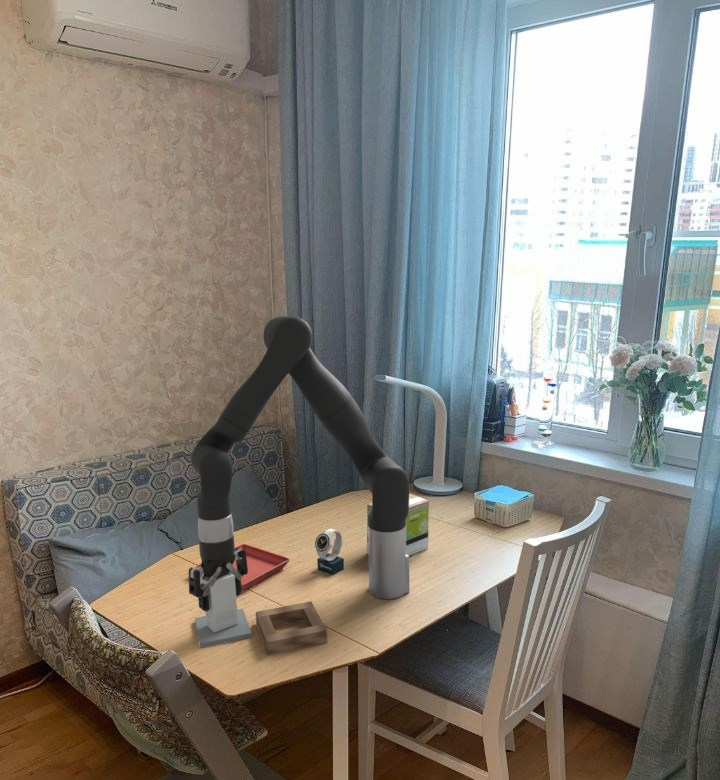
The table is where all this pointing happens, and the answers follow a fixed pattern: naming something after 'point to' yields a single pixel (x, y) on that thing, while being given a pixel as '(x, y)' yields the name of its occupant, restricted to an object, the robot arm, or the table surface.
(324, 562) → the watch
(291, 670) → the table surface
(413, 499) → the tea box
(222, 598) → the skincare box
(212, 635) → the slate mat
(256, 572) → the plant saucer
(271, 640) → the walnut collar
